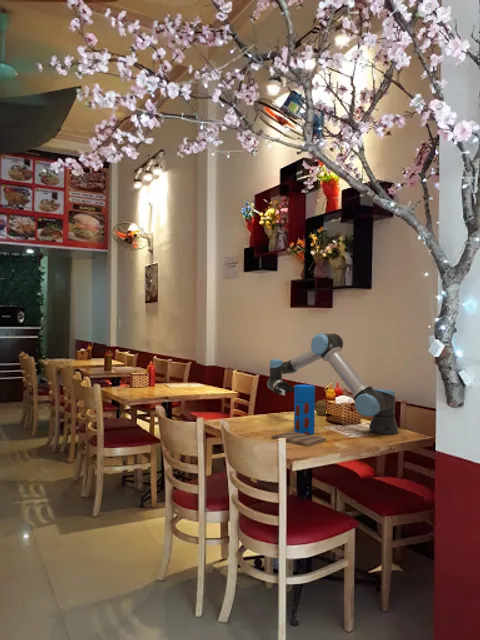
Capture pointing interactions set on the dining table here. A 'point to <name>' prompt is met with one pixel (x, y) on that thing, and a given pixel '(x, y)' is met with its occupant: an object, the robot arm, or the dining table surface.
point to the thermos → (304, 409)
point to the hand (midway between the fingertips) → (295, 392)
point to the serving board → (299, 438)
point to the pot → (321, 407)
